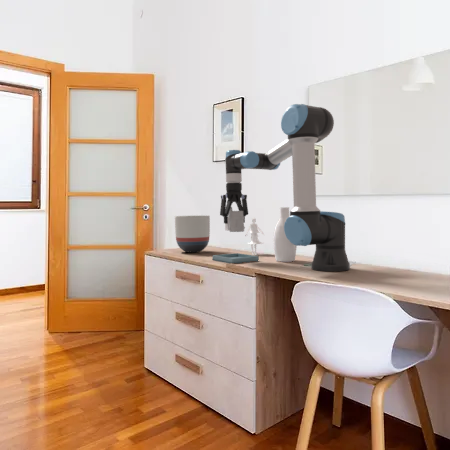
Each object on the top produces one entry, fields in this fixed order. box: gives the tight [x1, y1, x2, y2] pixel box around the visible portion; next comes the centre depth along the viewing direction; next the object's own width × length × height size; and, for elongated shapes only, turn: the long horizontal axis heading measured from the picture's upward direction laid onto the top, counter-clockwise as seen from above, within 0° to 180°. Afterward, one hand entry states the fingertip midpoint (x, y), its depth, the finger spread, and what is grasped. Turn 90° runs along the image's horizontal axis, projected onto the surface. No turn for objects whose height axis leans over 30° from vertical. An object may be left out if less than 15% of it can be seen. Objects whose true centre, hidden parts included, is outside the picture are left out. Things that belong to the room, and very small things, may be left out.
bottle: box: [272, 206, 298, 263], centre depth 201 cm, size 11×11×25 cm
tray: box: [212, 252, 260, 264], centre depth 205 cm, size 18×15×2 cm
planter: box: [174, 214, 211, 253], centre depth 249 cm, size 20×20×21 cm
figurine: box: [245, 217, 265, 256], centre depth 230 cm, size 13×10×20 cm
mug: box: [228, 206, 246, 233], centre depth 205 cm, size 8×12×12 cm, turn 28°
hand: (234, 230), depth 205 cm, fingers closed on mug, 7 cm apart
